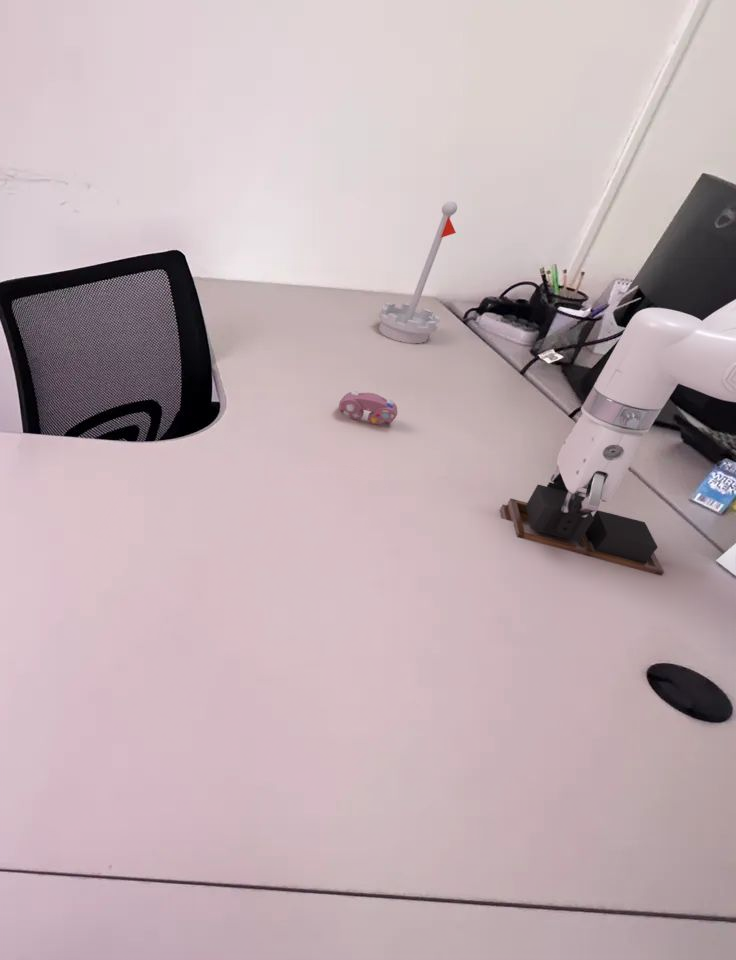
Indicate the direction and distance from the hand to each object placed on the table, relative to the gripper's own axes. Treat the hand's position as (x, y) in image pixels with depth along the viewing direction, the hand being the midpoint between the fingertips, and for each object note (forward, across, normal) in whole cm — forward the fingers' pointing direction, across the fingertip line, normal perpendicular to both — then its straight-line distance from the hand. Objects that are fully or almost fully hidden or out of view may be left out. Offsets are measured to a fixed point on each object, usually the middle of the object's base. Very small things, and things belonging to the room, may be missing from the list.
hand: (553, 520), depth 95 cm
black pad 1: (+1, 0, 0) cm, 1 cm away
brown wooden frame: (+3, 0, -4) cm, 5 cm away
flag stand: (+3, +75, +19) cm, 77 cm away
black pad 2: (+2, 0, -8) cm, 9 cm away
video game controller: (+3, +24, +26) cm, 36 cm away
